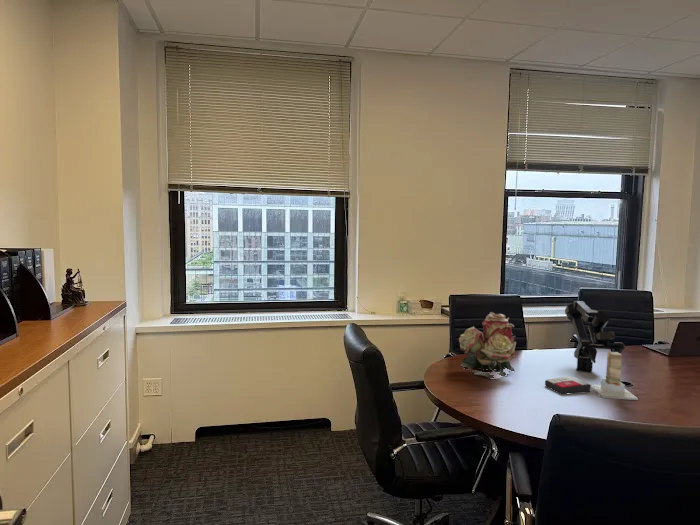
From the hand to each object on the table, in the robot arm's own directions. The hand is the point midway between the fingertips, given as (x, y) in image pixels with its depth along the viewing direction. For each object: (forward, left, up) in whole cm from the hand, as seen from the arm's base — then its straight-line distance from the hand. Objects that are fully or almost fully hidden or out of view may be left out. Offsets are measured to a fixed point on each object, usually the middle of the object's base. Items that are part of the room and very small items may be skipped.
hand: (605, 363), depth 198 cm
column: (+3, -7, -6) cm, 10 cm away
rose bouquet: (-50, -6, -11) cm, 51 cm away
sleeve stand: (+3, -7, -11) cm, 14 cm away
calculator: (-14, -12, -12) cm, 22 cm away
